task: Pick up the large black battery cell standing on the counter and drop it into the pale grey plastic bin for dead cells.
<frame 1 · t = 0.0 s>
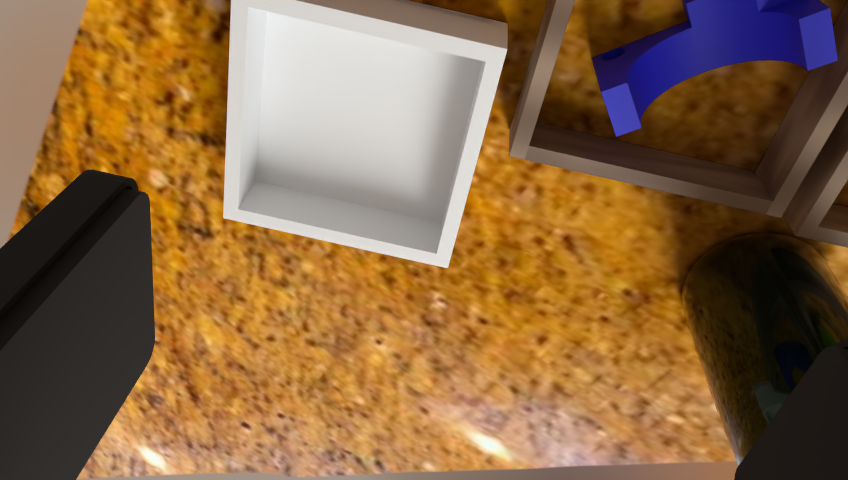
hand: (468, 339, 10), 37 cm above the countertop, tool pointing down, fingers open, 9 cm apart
cable clip: (689, 30, 43), on the countertop
brown hollow square frame: (689, 31, 43), on the countertop
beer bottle: (750, 283, 53), on the countertop
bin: (365, 110, 48), on the countertop
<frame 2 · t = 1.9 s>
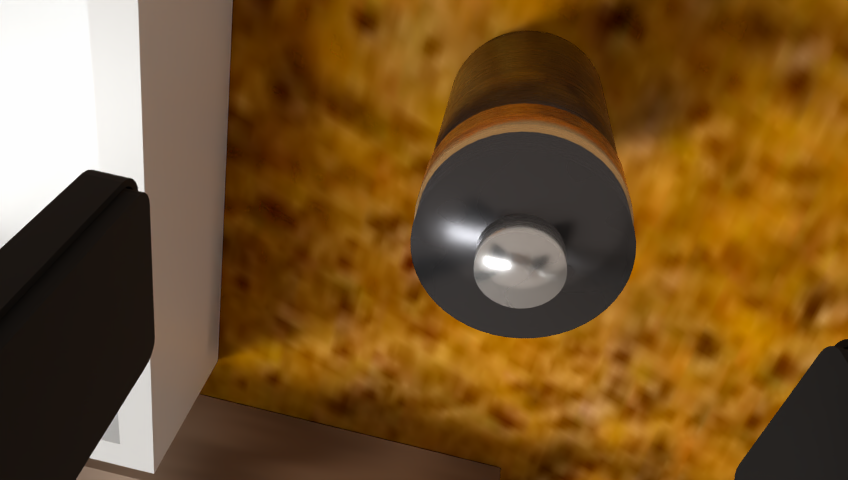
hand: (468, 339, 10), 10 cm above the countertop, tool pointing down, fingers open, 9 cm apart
battery cell: (525, 106, 18), on the countertop
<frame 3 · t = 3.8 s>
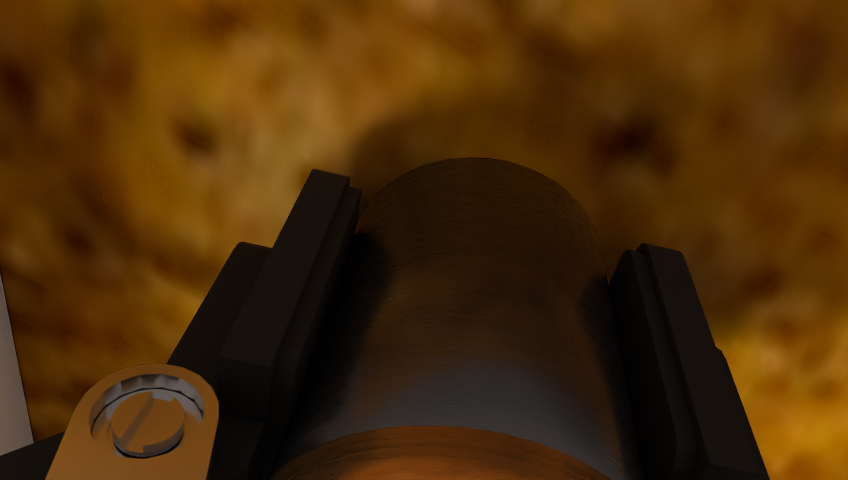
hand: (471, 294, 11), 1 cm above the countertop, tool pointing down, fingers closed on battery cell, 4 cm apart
battery cell: (473, 270, 11), on the countertop, touching gripper
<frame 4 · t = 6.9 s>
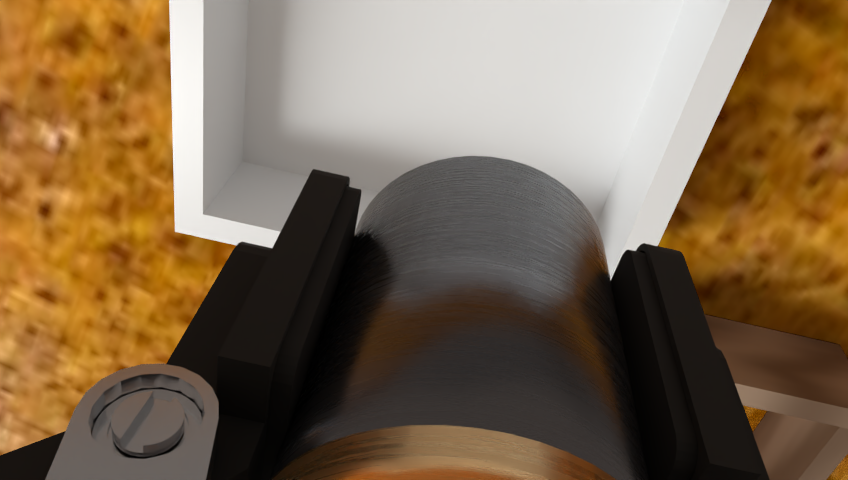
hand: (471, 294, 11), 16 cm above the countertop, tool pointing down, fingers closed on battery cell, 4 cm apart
battery cell: (476, 269, 11), point 15 cm above the countertop, touching gripper
brown hollow square frame: (571, 435, 35), on the countertop
bin: (455, 16, 24), on the countertop
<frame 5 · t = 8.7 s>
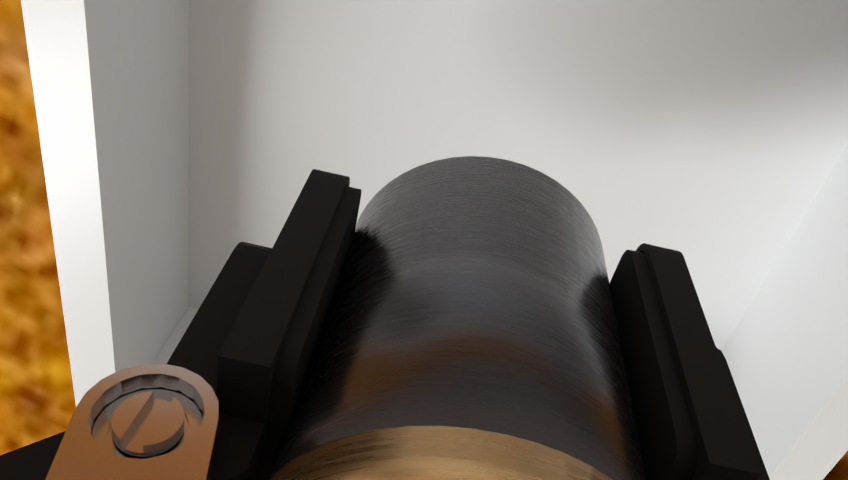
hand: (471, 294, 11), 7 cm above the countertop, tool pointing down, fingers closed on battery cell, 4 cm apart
battery cell: (474, 269, 11), point 6 cm above the countertop, touching gripper
bin: (500, 121, 16), on the countertop
when the fingers open (3 cm above the countertop, at t = 10.1 s): battery cell drops 2 cm, resting on bin.
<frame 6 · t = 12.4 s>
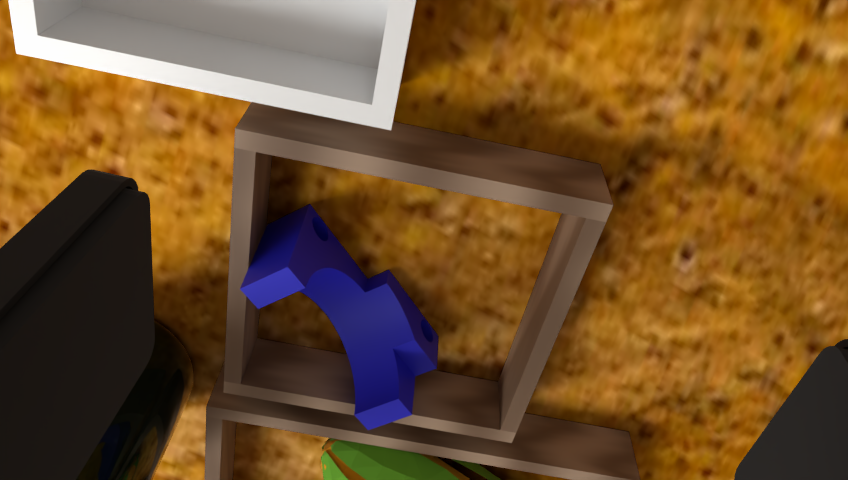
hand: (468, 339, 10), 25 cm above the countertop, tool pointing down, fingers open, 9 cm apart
corn: (446, 463, 52), on the countertop
cable clip: (358, 279, 42), on the countertop
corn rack: (410, 463, 51), on the countertop
brown hollow square frame: (400, 265, 41), on the countertop
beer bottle: (121, 354, 46), on the countertop
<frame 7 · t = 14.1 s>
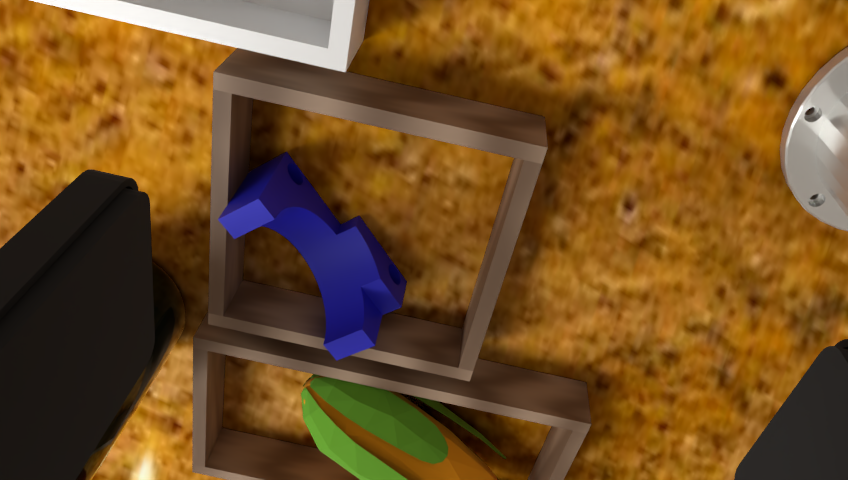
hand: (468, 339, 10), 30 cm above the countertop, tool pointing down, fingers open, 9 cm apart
corn: (422, 411, 55), on the countertop
cable clip: (332, 225, 46), on the countertop
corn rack: (385, 409, 55), on the countertop
brown hollow square frame: (369, 211, 45), on the countertop
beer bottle: (122, 293, 51), on the countertop
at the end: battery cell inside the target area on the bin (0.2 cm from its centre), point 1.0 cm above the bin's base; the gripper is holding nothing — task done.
